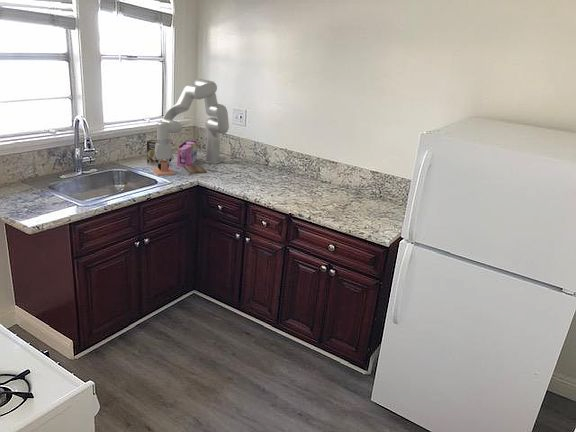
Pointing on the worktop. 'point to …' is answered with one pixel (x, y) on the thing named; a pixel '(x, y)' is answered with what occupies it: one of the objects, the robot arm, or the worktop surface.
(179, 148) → the gum box
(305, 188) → the worktop surface
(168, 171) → the stub
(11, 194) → the worktop surface
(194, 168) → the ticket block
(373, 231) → the worktop surface
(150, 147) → the coffee box
